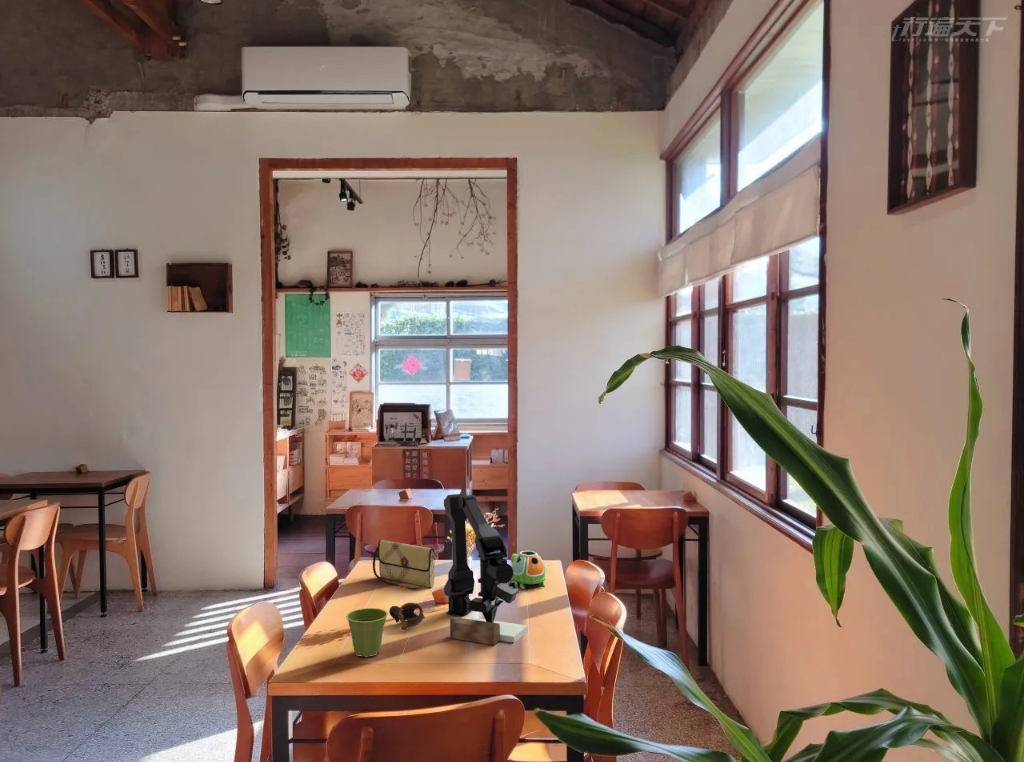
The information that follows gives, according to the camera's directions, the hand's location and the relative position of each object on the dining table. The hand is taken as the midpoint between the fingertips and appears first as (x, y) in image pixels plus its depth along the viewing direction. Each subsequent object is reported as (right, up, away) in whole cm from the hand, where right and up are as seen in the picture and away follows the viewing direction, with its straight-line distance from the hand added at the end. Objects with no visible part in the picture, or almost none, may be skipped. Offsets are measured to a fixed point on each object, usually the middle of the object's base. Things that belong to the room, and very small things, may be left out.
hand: (490, 625), depth 223 cm
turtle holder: (+12, -2, +53) cm, 54 cm away
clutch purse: (-35, -3, +54) cm, 64 cm away
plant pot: (-35, -4, -12) cm, 37 cm away
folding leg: (-5, -3, -3) cm, 7 cm away
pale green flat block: (0, -3, +3) cm, 4 cm away
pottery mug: (-27, -4, +10) cm, 29 cm away
